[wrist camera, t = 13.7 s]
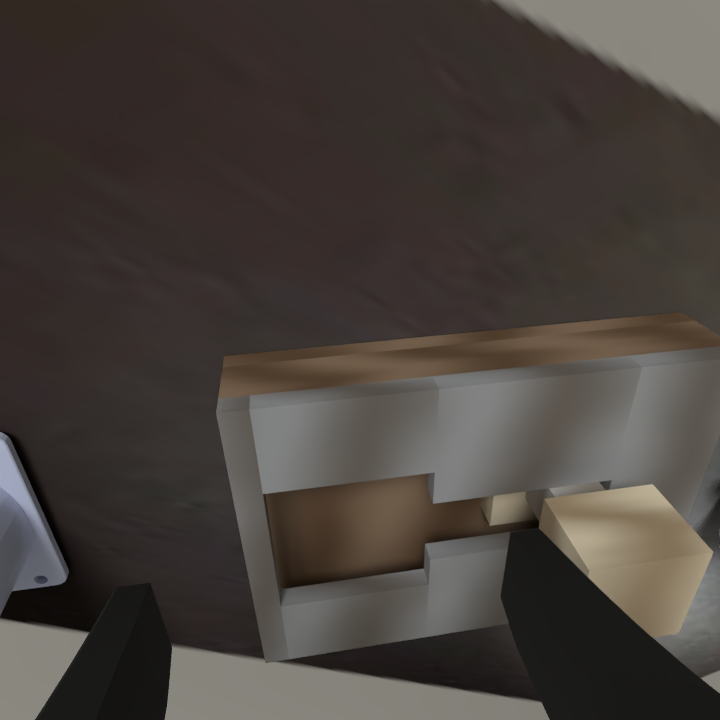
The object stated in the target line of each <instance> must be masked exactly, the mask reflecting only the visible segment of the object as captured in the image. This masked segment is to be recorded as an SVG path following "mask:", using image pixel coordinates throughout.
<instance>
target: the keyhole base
mask: <svg viewBox="0 0 720 720" xmlns="http://www.w3.org/2000/svg"><path fill="white" fill-rule="evenodd" d="M216 415H217V420H218V425H219V430H220V435H221V440H222V445H223V450H224V455H225V460H226V465H227V471H228V476H229V481H230V486H231V491H232V496H233V501H234V506H235V511H236V516H237V521H238V526H239V531H240V536H241V541H242V546H243V551H244V556H245V561H246V566H247V572H248V577H249V582H250V587H251V592H252V597H253V602H254V607H255V612H256V617H257V622H258V627H259V632H260V637H261V642H262V647H263V652H264V657H265V662H266V663H268V662H274V661H281V660H287V659H293V658H299V657H305V656H312V655H318V654H324V653H330V652H336V651H343V650H349V649H355V648H361V647H367V646H374V645H380V644H386V643H392V642H398V641H405V640H411V639H417V638H423V637H429V636H436V635H442V634H448V633H454V632H460V631H467V630H473V629H479V628H485V627H491V626H498V625H504V624H509V622H508V619H507V616H506V613H505V610H504V607H503V603H502V600H501V597H500V596H501V589H502V583H503V576H504V570H505V564H506V557H507V551H508V544H509V538H510V532H515V531H522V530H529V529H536V528H539V523H540V522H539V521H538V519H536V520H528V521H521V522H514V523H507V524H500V525H492V526H490V525H489V523H488V520H487V518H486V516H485V514H484V512H483V510H482V508H481V497H488V496H496V495H503V494H511V493H518V492H526V491H533V490H541V489H549V488H556V487H564V486H571V485H579V484H586V483H594V482H600V484H601V485H602V486H603V487H604V489H605V490H613V489H620V488H628V487H635V486H642V485H650V484H653V485H654V486H655V487H656V488H657V490H658V491H659V492H660V493H661V494H662V495H663V496H664V497H665V499H666V500H667V501H668V502H669V503H670V504H671V505H672V506H673V507H674V509H675V510H676V511H677V512H678V513H679V514H680V515H681V516H682V518H683V519H684V520H685V521H686V522H687V521H688V518H689V515H690V513H691V510H692V508H693V505H694V502H695V500H696V497H697V495H698V492H699V489H700V487H701V484H702V482H703V479H704V476H705V474H706V471H707V468H708V466H709V463H710V461H711V458H712V455H713V453H714V450H715V448H716V445H717V442H718V440H719V437H720V336H718V335H717V334H715V333H714V332H712V331H710V330H709V329H707V328H706V327H704V326H702V325H701V324H699V323H698V322H696V321H694V320H693V319H691V318H690V317H688V316H686V315H685V314H683V313H682V312H679V313H669V314H658V315H648V316H637V317H627V318H617V319H606V320H596V321H585V322H575V323H564V324H554V325H544V326H533V327H523V328H512V329H502V330H491V331H481V332H471V333H460V334H450V335H439V336H429V337H418V338H408V339H398V340H387V341H377V342H366V343H356V344H345V345H335V346H325V347H314V348H304V349H293V350H283V351H272V352H262V353H252V354H241V355H231V356H224V361H223V368H222V375H221V383H220V390H219V397H218V404H217V411H216Z"/></svg>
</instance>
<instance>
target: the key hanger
mask: <svg viewBox="0 0 720 720" xmlns="http://www.w3.org/2000/svg"><path fill="white" fill-rule="evenodd" d="M481 508H482V510H483V512H484V514H485V516H486V518H487V520H488V523H489V525H490V526H492V525H500V524H507V523H514V522H521V521H528V520H536V519H538V521H539V522H540V523H539V529H540V530H541V531H543V532H544V533H545V534H546V535H547V536H548V537H549V539H550V540H551V541H552V542H553V543H554V544H555V545H556V546H557V547H558V548H559V549H560V550H561V551H562V552H563V553H564V554H565V555H566V556H567V557H568V558H569V559H570V560H571V561H572V562H573V563H574V564H575V565H576V566H577V567H578V568H579V569H580V570H581V571H582V572H583V573H584V574H585V575H586V576H587V577H588V578H589V579H590V580H591V581H592V582H593V583H594V584H595V585H596V586H597V587H598V588H599V589H601V590H602V591H603V592H604V593H605V594H606V595H607V596H608V597H609V598H610V599H611V600H612V601H613V602H614V603H615V604H616V605H617V606H618V607H620V608H621V609H622V610H623V611H624V612H625V613H626V614H627V615H628V616H629V617H630V618H631V619H632V620H634V621H635V622H636V623H637V624H638V625H639V626H640V627H641V628H642V629H643V630H645V631H646V632H647V633H648V634H649V635H650V636H651V637H652V638H654V637H660V636H666V635H672V634H678V633H679V631H680V629H681V626H682V624H683V622H684V619H685V617H686V615H687V612H688V610H689V608H690V605H691V603H692V601H693V599H694V596H695V594H696V592H697V589H698V587H699V585H700V582H701V580H702V578H703V576H704V573H705V571H706V569H707V566H708V564H709V562H710V559H711V557H712V555H713V551H712V550H711V549H710V548H709V547H708V545H707V544H706V543H705V542H704V541H703V540H702V539H701V538H700V537H699V535H698V534H697V533H696V532H695V531H694V530H693V529H692V528H691V526H690V525H689V524H688V523H687V522H686V521H685V520H684V519H683V518H682V516H681V515H680V514H679V513H678V512H677V511H676V510H675V509H674V507H673V506H672V505H671V504H670V503H669V502H668V501H667V500H666V499H665V497H664V496H663V495H662V494H661V493H660V492H659V491H658V490H657V488H656V487H655V486H654V485H653V484H650V485H642V486H635V487H628V488H620V489H613V490H605V489H604V487H603V486H602V485H601V484H600V482H594V483H586V484H579V485H571V486H564V487H556V488H549V489H541V490H533V491H526V492H518V493H511V494H503V495H496V496H488V497H481Z"/></svg>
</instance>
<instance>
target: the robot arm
mask: <svg viewBox="0 0 720 720" xmlns="http://www.w3.org/2000/svg"><path fill="white" fill-rule="evenodd" d="M68 574H69V570H68V567H67V565H66V563H65V561H64V558H63V556H62V554H61V552H60V549H59V547H58V545H57V543H56V540H55V538H54V536H53V534H52V531H51V529H50V527H49V525H48V522H47V520H46V518H45V516H44V513H43V511H42V509H41V507H40V504H39V502H38V500H37V498H36V495H35V493H34V491H33V489H32V486H31V484H30V482H29V480H28V477H27V475H26V473H25V471H24V468H23V466H22V464H21V462H20V459H19V457H18V455H17V453H16V450H15V448H14V446H13V444H12V441H11V440H10V438H9V437H8V436H7V435H5V434H4V433H1V432H0V615H1V613H2V611H3V609H4V607H5V605H6V602H7V600H8V598H9V596H10V594H11V592H12V591H18V590H25V589H32V588H39V587H46V586H54V585H59V584H62V583H63V582H65V581H66V579H67V576H68ZM500 597H501V600H502V603H503V607H504V610H505V613H506V616H507V619H508V622H509V625H510V628H511V631H512V634H513V637H514V640H515V643H516V646H517V648H518V651H519V653H520V655H521V657H522V660H523V662H524V664H525V666H526V669H527V671H528V673H529V675H530V677H531V680H532V682H533V684H534V686H535V689H536V691H537V693H538V695H539V697H540V699H541V702H542V704H543V706H544V708H545V710H546V713H547V714H548V717H549V719H550V720H720V693H718V692H717V691H716V690H714V689H713V688H712V687H711V686H709V685H708V684H707V683H706V682H704V681H703V680H702V679H701V678H699V677H698V676H697V675H696V674H695V673H693V672H692V671H691V670H690V669H689V668H687V667H686V666H685V665H684V664H682V663H681V662H680V661H679V660H678V659H677V658H675V657H674V656H673V655H672V654H671V653H670V652H668V651H667V650H666V649H665V648H664V647H663V646H662V645H660V644H659V643H658V642H657V641H656V640H655V639H653V638H652V637H651V636H650V635H649V634H648V633H647V632H646V631H645V630H643V629H642V628H641V627H640V626H639V625H638V624H637V623H636V622H635V621H634V620H632V619H631V618H630V617H629V616H628V615H627V614H626V613H625V612H624V611H623V610H622V609H621V608H620V607H618V606H617V605H616V604H615V603H614V602H613V601H612V600H611V599H610V598H609V597H608V596H607V595H606V594H605V593H604V592H603V591H602V590H601V589H599V588H598V587H597V586H596V585H595V584H594V583H593V582H592V581H591V580H590V579H589V578H588V577H587V576H586V575H585V574H584V573H583V572H582V571H581V570H580V569H579V568H578V567H577V566H576V565H575V564H574V563H573V562H572V561H571V560H570V559H569V558H568V557H567V556H566V555H565V554H564V553H563V552H562V551H561V550H560V549H559V548H558V547H557V546H556V545H555V544H554V543H553V542H552V541H551V540H550V539H549V537H548V536H547V535H546V534H545V533H544V532H543V531H541V530H540V529H539V528H536V529H529V530H522V531H515V532H510V538H509V544H508V551H507V557H506V564H505V570H504V576H503V583H502V589H501V596H500ZM171 653H172V646H171V643H170V640H169V637H168V634H167V631H166V628H165V625H164V623H163V620H162V617H161V614H160V611H159V608H158V605H157V602H156V599H155V596H154V593H153V590H152V587H151V584H150V583H146V584H139V585H132V586H125V587H118V588H116V589H115V590H114V591H113V592H112V594H111V596H110V598H109V600H108V601H107V603H106V605H105V607H104V608H103V610H102V612H101V614H100V615H99V617H98V619H97V621H96V622H95V624H94V626H93V628H92V629H91V631H90V633H89V634H88V636H87V638H86V639H85V641H84V643H83V644H82V646H81V648H80V649H79V651H78V653H77V654H76V656H75V658H74V659H73V661H72V663H71V664H70V666H69V668H68V669H67V671H66V672H65V674H64V675H63V677H62V679H61V680H60V682H59V683H58V685H57V687H56V688H55V690H54V691H53V693H52V694H51V696H50V698H49V699H48V701H47V702H46V704H45V706H44V707H43V708H42V710H41V712H40V713H39V715H38V716H37V718H36V719H35V720H164V719H165V713H166V707H167V699H168V689H169V678H170V666H171Z"/></svg>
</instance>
